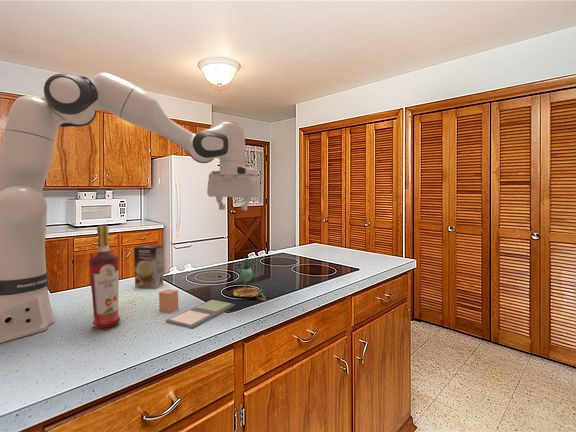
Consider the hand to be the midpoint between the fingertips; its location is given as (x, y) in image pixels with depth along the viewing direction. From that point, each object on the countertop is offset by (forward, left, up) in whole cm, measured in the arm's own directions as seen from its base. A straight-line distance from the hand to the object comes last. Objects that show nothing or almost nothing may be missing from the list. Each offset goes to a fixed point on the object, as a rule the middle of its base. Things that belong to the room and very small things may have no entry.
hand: (232, 210), depth 115 cm
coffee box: (-4, +38, -31) cm, 49 cm away
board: (-18, -1, -31) cm, 36 cm away
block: (-20, +11, -31) cm, 38 cm away
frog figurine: (+3, -4, -31) cm, 32 cm away
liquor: (-37, +17, -31) cm, 51 cm away
